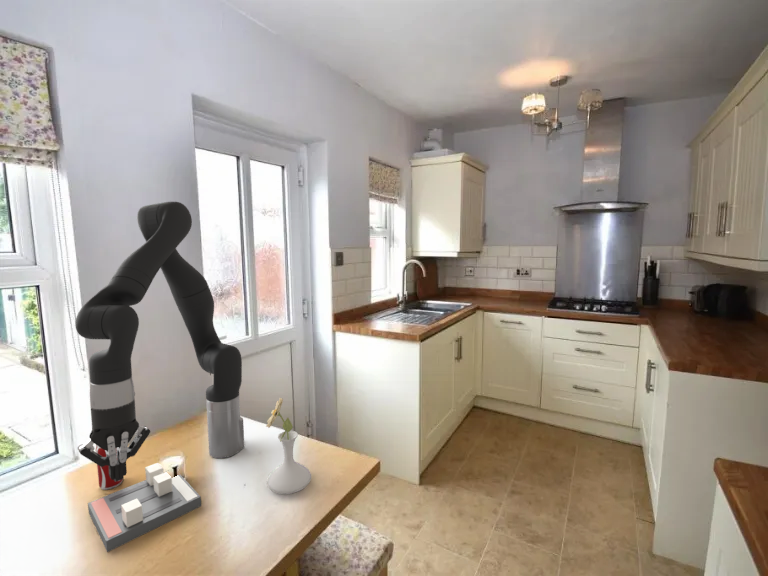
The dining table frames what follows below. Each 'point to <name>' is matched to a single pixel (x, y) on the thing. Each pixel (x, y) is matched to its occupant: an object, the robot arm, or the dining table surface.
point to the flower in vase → (287, 461)
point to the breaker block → (153, 508)
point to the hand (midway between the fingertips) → (118, 478)
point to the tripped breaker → (132, 512)
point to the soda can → (105, 473)
